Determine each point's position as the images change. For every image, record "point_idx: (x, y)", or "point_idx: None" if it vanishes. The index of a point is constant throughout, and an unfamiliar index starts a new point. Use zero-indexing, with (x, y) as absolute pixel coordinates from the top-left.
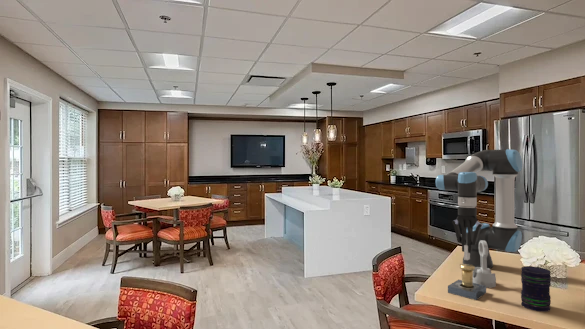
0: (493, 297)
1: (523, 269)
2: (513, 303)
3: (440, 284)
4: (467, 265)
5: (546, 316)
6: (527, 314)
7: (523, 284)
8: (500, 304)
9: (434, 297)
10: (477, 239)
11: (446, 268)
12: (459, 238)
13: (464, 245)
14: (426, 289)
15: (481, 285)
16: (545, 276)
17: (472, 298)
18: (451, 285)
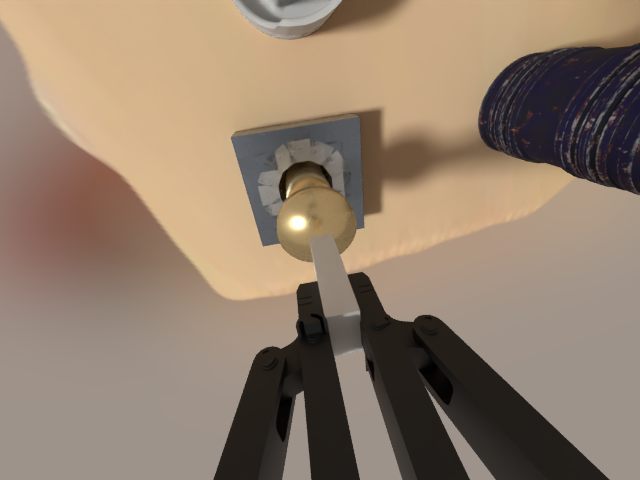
0: (389, 142)
1: (633, 173)
2: (455, 142)
3: (183, 181)
4: (314, 221)
5: (541, 166)
6: (494, 196)
7: (552, 157)
8: (423, 187)
9: (269, 292)
10: (480, 368)
11: None
12: (290, 428)
13: (335, 354)
14: (205, 265)
15: (342, 129)
16: None
17: None
18: (267, 232)
